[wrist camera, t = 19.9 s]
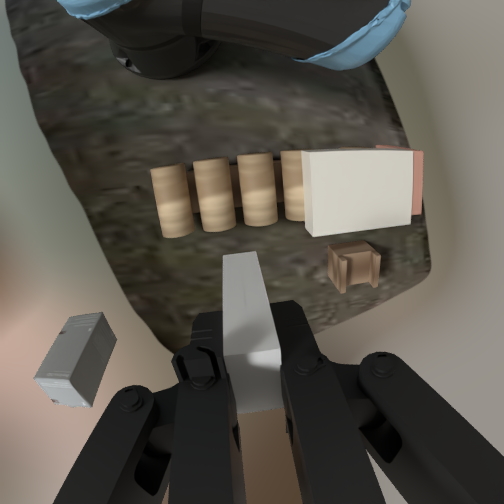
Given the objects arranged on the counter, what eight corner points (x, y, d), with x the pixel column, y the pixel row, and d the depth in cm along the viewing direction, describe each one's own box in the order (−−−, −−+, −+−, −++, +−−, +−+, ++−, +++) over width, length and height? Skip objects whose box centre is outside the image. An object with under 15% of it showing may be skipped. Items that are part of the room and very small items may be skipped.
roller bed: (160, 164, 36) (146, 171, 30) (375, 145, 37) (401, 149, 31) (170, 221, 39) (159, 239, 33) (376, 198, 40) (400, 210, 34)
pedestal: (328, 244, 43) (341, 261, 37) (363, 240, 43) (381, 255, 38) (327, 274, 45) (340, 293, 39) (362, 269, 45) (377, 286, 40)
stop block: (375, 145, 37) (410, 150, 29) (387, 145, 37) (423, 151, 29) (376, 198, 40) (409, 215, 32) (387, 197, 40) (421, 214, 32)
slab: (301, 150, 30) (309, 152, 27) (399, 148, 31) (413, 151, 28) (305, 228, 34) (313, 236, 31) (397, 217, 35) (410, 224, 32)
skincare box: (103, 310, 44) (68, 376, 29) (120, 342, 47) (94, 410, 32) (67, 316, 44) (28, 375, 29) (84, 346, 47) (54, 407, 32)
